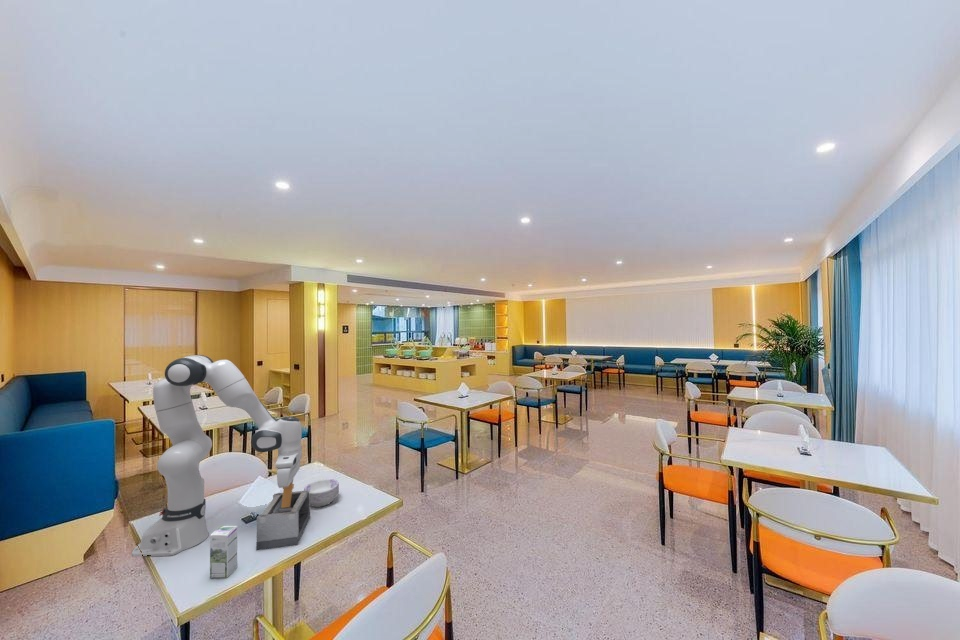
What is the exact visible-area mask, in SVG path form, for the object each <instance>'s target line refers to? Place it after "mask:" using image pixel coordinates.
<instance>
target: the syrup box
mask: <svg viewBox="0 0 960 640" xmlns="http://www.w3.org/2000/svg"><path fill="white" fill-rule="evenodd" d="M237 568H238V525H222V526H219V527H217V528H216V530H214V531H213V532H212V533H211V534H209V579H227V578H229V576H230V575H232V573H233V572H234V571H236V569H237Z"/></svg>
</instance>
